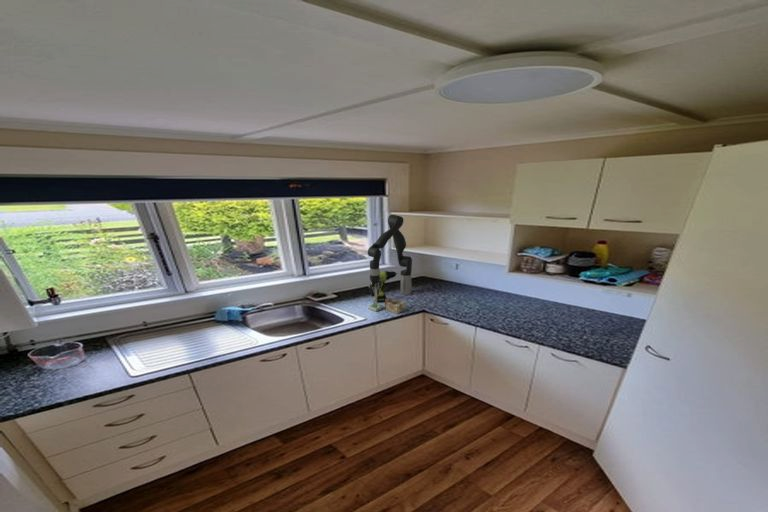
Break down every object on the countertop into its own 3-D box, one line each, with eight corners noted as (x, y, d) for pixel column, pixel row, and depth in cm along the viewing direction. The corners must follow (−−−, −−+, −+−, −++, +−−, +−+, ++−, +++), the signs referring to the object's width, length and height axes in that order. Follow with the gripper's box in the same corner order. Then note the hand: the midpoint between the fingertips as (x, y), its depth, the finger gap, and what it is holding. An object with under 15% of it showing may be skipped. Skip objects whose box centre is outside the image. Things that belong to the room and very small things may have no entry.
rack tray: (374, 306, 243) (374, 303, 243) (382, 308, 238) (382, 305, 238) (368, 309, 237) (368, 306, 236) (376, 311, 232) (376, 308, 232)
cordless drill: (397, 298, 260) (397, 269, 254) (399, 301, 253) (399, 271, 247) (370, 300, 256) (369, 271, 250) (371, 303, 249) (370, 273, 244)
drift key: (387, 306, 241) (387, 298, 239) (390, 307, 239) (390, 299, 238) (385, 307, 239) (385, 299, 237) (388, 308, 237) (388, 300, 235)
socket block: (394, 306, 241) (394, 299, 240) (404, 309, 235) (404, 302, 234) (386, 310, 234) (386, 303, 232) (396, 314, 228) (396, 306, 226)
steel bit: (375, 306, 240) (374, 287, 236) (378, 307, 238) (377, 288, 234) (372, 308, 237) (372, 288, 234) (375, 309, 235) (375, 289, 232)
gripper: (372, 277, 224) (372, 299, 227) (384, 272, 234) (384, 293, 238) (364, 275, 228) (365, 297, 232) (376, 271, 239) (377, 291, 243)
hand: (375, 295), depth 235 cm, fingers open, 4 cm apart
